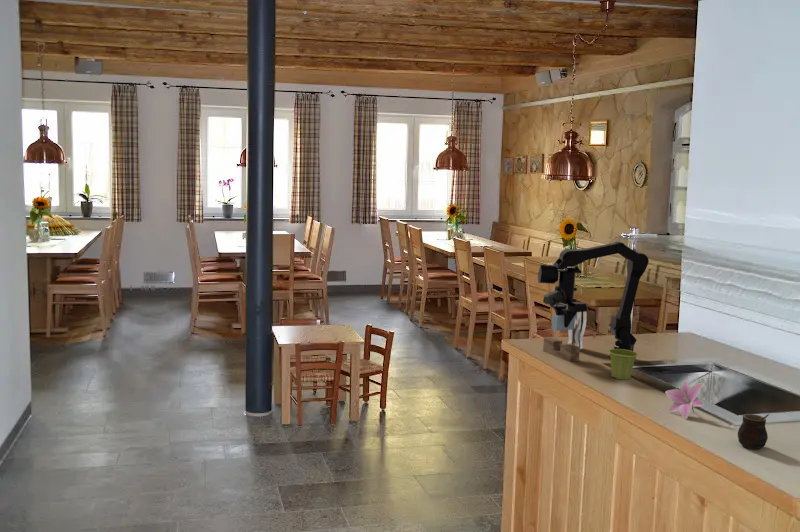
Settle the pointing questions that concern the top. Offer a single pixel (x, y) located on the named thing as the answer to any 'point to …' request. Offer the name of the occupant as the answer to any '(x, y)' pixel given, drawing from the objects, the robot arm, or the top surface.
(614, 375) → the plant pot
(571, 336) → the beer glass
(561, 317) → the light blue block
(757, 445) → the mate gourd
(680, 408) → the lily
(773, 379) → the top surface
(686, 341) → the top surface
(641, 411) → the top surface
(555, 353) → the rail
